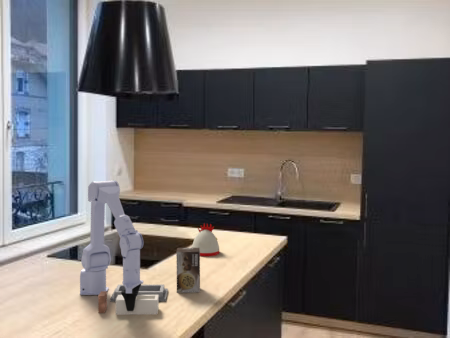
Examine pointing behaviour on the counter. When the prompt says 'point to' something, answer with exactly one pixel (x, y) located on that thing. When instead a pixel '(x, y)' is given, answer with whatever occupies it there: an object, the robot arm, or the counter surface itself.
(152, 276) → the counter surface
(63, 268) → the counter surface
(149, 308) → the white hollow block
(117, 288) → the cradle
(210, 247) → the kitchen timer
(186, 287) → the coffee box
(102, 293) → the terracotta flat slab
